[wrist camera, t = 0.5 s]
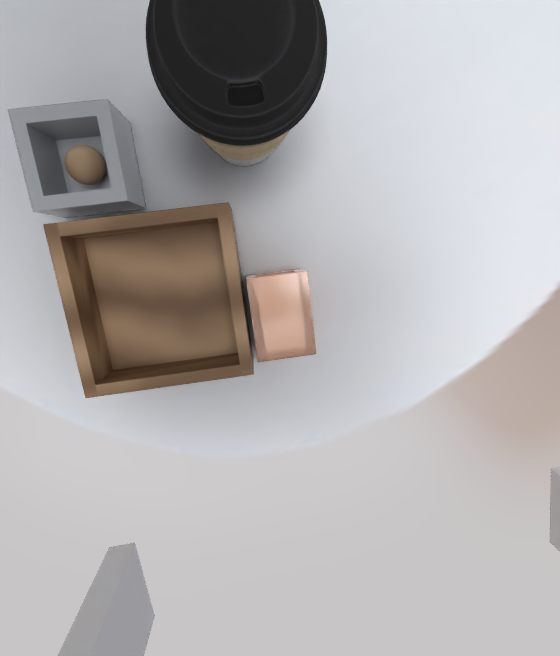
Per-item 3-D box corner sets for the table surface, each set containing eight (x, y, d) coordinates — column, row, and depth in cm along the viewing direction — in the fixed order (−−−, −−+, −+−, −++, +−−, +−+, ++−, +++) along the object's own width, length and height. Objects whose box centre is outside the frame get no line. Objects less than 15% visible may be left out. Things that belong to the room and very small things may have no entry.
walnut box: (74, 228, 33) (43, 224, 28) (231, 209, 34) (228, 202, 29) (108, 378, 36) (85, 398, 31) (253, 358, 36) (253, 374, 32)
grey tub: (45, 131, 31) (7, 109, 26) (129, 122, 32) (107, 98, 27) (65, 217, 33) (33, 211, 28) (146, 208, 33) (127, 200, 28)
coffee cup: (231, 208, 34) (216, 173, 19) (166, 112, 32) (91, -9, 17) (318, 146, 33) (371, 60, 18) (256, 45, 31) (260, -140, 17)
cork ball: (71, 152, 31) (52, 141, 28) (107, 148, 31) (92, 137, 28) (79, 189, 32) (61, 183, 29) (115, 185, 32) (101, 178, 29)
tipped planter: (246, 275, 35) (245, 279, 30) (299, 268, 35) (307, 271, 30) (256, 347, 36) (257, 362, 31) (307, 340, 37) (316, 353, 32)
